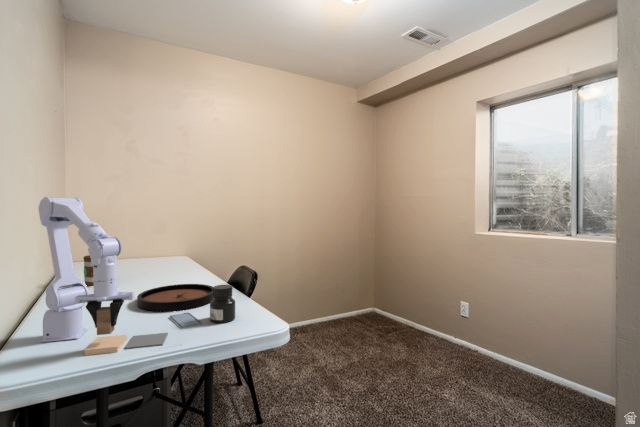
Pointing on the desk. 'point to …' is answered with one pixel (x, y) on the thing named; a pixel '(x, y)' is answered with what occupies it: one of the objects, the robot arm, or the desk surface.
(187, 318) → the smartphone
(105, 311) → the block
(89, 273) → the mug
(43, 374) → the desk surface
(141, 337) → the mat
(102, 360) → the desk surface
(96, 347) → the clay tile
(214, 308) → the ink bottle
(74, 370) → the desk surface
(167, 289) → the wall clock
